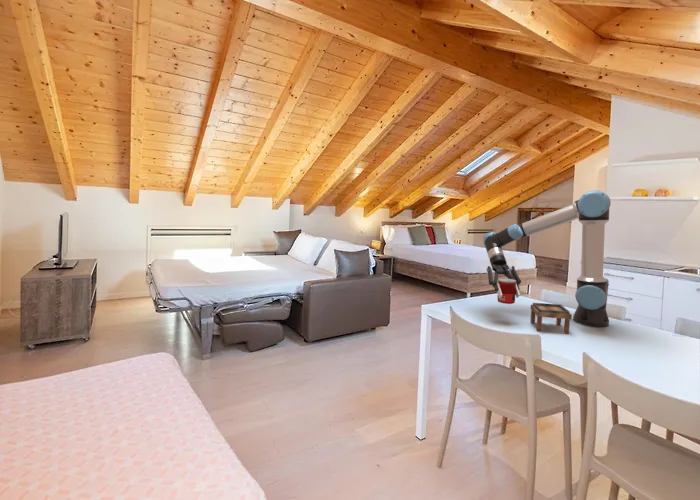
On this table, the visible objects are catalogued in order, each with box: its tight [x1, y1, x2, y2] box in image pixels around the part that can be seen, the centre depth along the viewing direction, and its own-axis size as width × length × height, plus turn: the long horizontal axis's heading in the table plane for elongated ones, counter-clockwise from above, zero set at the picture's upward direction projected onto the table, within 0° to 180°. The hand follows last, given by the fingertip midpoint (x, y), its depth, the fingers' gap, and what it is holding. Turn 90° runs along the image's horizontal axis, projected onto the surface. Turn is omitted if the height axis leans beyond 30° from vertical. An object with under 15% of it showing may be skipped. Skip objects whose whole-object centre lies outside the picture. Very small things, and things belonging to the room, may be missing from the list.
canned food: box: [497, 278, 516, 305], centre depth 183 cm, size 8×8×11 cm
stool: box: [530, 302, 573, 335], centre depth 178 cm, size 14×14×10 cm
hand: (509, 296), depth 180 cm, fingers closed on canned food, 8 cm apart
